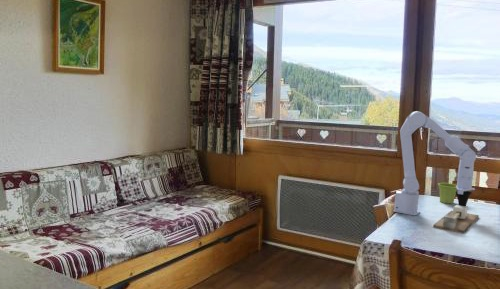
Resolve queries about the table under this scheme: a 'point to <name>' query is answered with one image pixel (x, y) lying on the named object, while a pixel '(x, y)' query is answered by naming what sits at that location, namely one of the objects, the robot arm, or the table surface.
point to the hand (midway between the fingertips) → (462, 208)
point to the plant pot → (447, 192)
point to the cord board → (459, 223)
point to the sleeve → (460, 209)
